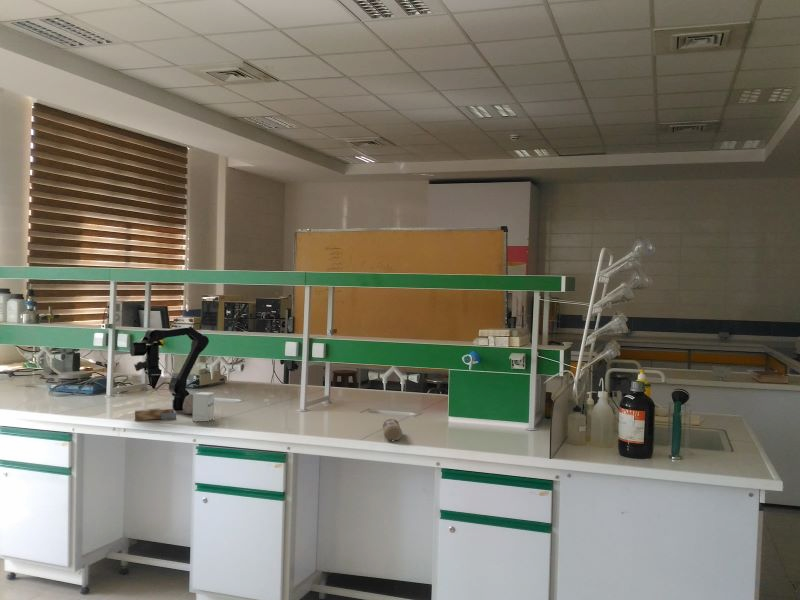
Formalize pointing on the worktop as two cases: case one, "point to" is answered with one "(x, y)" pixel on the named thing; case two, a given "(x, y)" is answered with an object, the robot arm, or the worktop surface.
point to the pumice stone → (188, 404)
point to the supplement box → (203, 406)
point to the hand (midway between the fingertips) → (152, 387)
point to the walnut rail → (151, 413)
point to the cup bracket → (168, 415)
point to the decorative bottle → (392, 429)
